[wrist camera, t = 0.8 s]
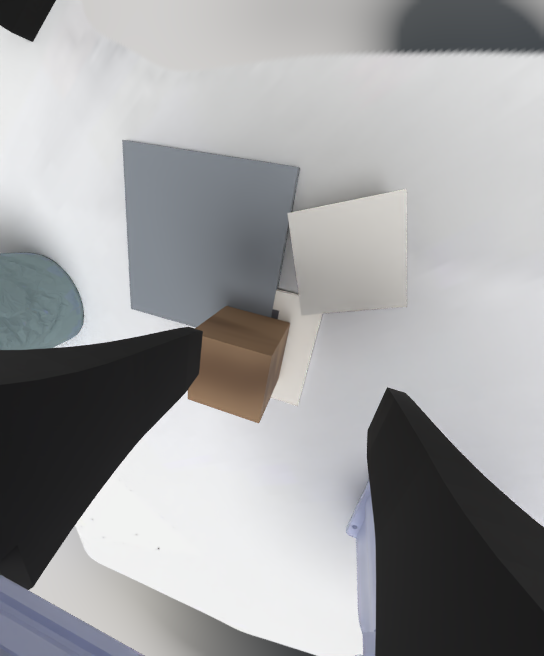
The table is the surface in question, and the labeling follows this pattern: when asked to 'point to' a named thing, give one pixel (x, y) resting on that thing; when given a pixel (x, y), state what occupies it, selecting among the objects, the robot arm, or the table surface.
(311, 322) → the tile
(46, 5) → the battery charger
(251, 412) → the walnut block
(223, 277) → the slate pad
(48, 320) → the green cup
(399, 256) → the off-white block
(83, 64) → the table surface
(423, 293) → the table surface
